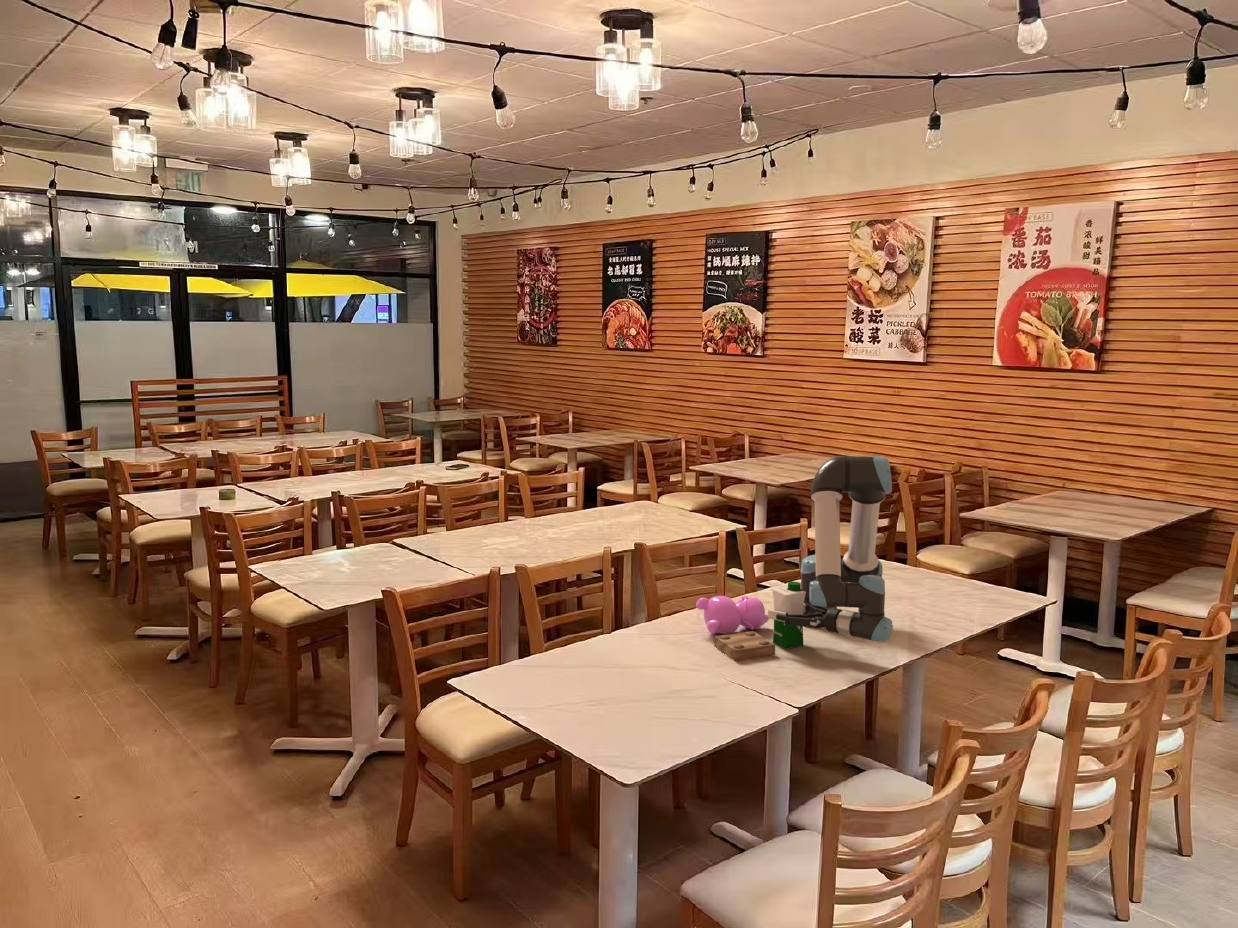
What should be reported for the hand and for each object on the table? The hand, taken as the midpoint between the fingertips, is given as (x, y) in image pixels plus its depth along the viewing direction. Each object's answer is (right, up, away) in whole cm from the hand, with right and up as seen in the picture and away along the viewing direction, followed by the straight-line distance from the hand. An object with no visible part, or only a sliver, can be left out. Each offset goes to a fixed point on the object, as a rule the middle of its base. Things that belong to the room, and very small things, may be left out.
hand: (777, 609), depth 291 cm
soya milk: (+3, -11, -1) cm, 12 cm away
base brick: (-12, -13, -7) cm, 19 cm away
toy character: (-13, -10, +13) cm, 21 cm away
